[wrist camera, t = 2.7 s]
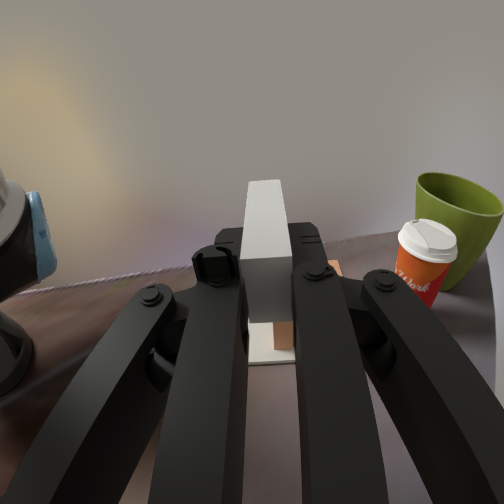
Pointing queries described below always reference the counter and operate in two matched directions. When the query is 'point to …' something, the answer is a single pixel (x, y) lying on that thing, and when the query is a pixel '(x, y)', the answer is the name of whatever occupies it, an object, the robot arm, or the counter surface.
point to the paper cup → (425, 256)
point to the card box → (291, 324)
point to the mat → (266, 346)
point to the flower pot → (459, 217)
